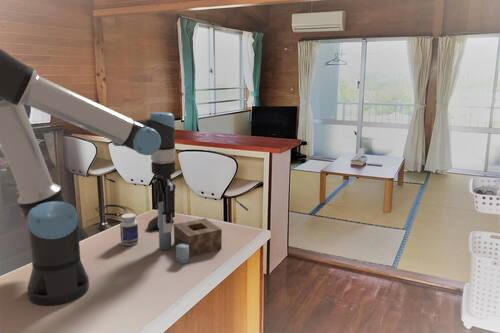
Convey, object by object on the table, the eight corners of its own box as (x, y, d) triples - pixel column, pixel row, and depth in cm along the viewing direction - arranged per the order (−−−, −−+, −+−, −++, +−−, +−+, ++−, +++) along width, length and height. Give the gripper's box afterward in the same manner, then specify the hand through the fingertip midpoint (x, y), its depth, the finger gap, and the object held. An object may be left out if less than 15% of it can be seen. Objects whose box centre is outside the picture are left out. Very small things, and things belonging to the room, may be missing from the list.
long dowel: (161, 251, 141) (160, 205, 137) (157, 246, 144) (156, 201, 140) (173, 248, 143) (172, 203, 139) (168, 244, 146) (167, 200, 142)
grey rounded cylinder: (179, 265, 132) (178, 249, 130) (174, 260, 135) (173, 245, 134) (191, 262, 134) (190, 247, 132) (186, 257, 137) (185, 242, 136)
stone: (141, 229, 159) (140, 216, 158) (166, 219, 170) (166, 206, 169) (154, 234, 156) (153, 220, 154) (179, 223, 166) (179, 210, 165)
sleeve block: (188, 256, 137) (188, 236, 136) (174, 243, 147) (173, 224, 146) (221, 248, 144) (221, 229, 142) (205, 236, 154) (205, 218, 152)
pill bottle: (141, 242, 148) (140, 214, 145) (129, 247, 143) (127, 219, 141) (130, 238, 151) (129, 211, 148) (117, 243, 146) (116, 216, 144)
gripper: (185, 165, 132) (185, 236, 137) (164, 155, 145) (166, 219, 151) (162, 167, 128) (163, 240, 133) (143, 157, 142) (145, 223, 147)
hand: (164, 229), depth 142 cm, fingers closed on long dowel, 4 cm apart
